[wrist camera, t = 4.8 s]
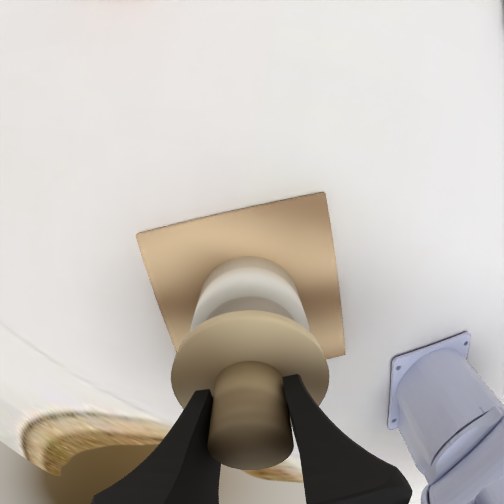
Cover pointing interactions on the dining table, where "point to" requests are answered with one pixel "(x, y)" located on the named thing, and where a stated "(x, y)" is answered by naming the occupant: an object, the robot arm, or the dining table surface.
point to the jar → (249, 291)
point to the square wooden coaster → (249, 244)
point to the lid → (249, 382)
